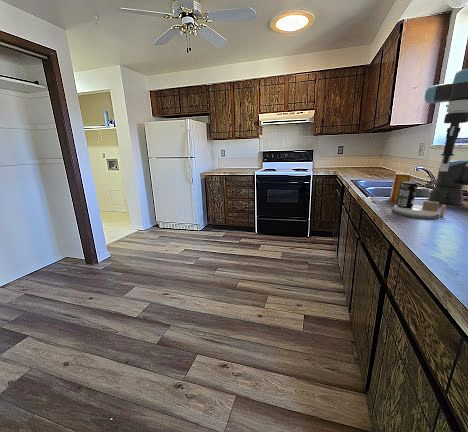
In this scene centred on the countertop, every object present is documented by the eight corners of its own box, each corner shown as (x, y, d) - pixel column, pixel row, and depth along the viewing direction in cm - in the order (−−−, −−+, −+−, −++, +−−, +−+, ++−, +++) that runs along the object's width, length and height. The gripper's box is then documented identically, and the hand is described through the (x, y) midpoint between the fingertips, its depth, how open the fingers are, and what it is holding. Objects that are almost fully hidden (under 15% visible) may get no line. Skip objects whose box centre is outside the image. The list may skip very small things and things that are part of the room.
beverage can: (409, 205, 119) (415, 181, 116) (414, 209, 113) (420, 183, 110) (394, 204, 121) (399, 180, 118) (398, 208, 115) (403, 182, 112)
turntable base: (391, 206, 127) (393, 196, 126) (438, 212, 118) (441, 201, 116) (392, 215, 112) (395, 203, 111) (447, 222, 103) (450, 209, 102)
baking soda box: (404, 203, 135) (410, 174, 130) (390, 201, 138) (396, 173, 133) (402, 199, 143) (408, 172, 138) (389, 198, 146) (395, 171, 141)
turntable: (391, 212, 114) (394, 200, 112) (395, 204, 127) (397, 194, 125) (438, 218, 104) (441, 206, 102) (437, 210, 117) (440, 199, 115)
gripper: (447, 114, 106) (434, 169, 113) (444, 112, 97) (430, 171, 104) (471, 112, 101) (456, 170, 108) (469, 110, 92) (453, 173, 99)
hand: (443, 171), depth 106 cm, fingers closed
